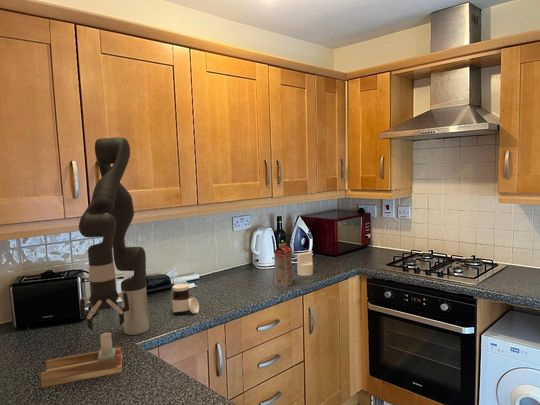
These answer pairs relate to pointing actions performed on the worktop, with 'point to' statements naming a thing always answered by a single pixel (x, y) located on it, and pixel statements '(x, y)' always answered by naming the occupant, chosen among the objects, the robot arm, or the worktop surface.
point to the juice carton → (283, 265)
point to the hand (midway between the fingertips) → (106, 326)
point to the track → (79, 368)
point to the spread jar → (183, 300)
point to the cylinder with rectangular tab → (304, 264)
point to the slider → (106, 348)
